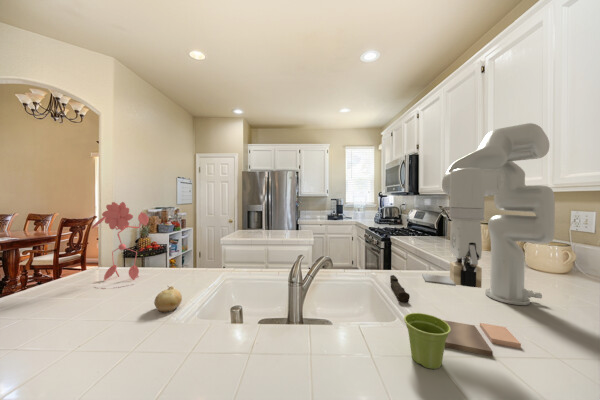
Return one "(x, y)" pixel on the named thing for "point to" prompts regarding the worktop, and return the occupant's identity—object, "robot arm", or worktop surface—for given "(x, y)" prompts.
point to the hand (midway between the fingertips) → (465, 282)
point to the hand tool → (399, 290)
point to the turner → (453, 276)
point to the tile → (499, 335)
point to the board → (467, 339)
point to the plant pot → (427, 338)
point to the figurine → (120, 218)
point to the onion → (168, 300)
